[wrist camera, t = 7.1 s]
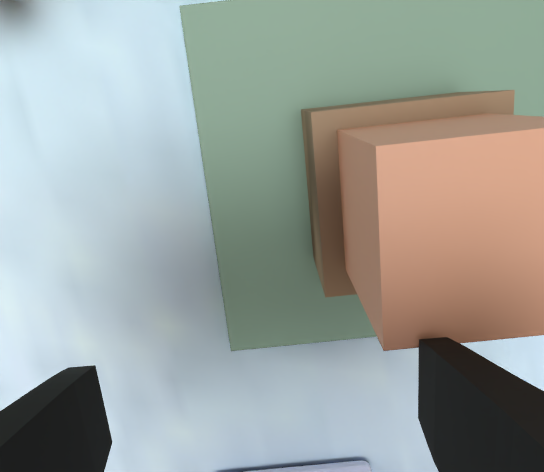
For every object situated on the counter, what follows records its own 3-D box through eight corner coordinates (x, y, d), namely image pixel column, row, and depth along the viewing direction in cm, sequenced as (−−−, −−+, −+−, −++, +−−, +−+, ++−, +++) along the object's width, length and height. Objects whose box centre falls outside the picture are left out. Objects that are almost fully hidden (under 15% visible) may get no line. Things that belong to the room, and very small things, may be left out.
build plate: (539, 313, 20) (546, 319, 20) (231, 344, 21) (230, 350, 20) (563, -35, 16) (574, -40, 16) (182, 9, 17) (179, 5, 16)
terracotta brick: (483, 255, 15) (587, 330, 10) (345, 269, 15) (383, 350, 10) (488, 113, 13) (610, 120, 9) (337, 129, 14) (376, 145, 9)
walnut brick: (457, 242, 19) (505, 279, 15) (313, 257, 19) (325, 297, 15) (458, 92, 17) (514, 90, 13) (300, 109, 17) (310, 112, 13)
